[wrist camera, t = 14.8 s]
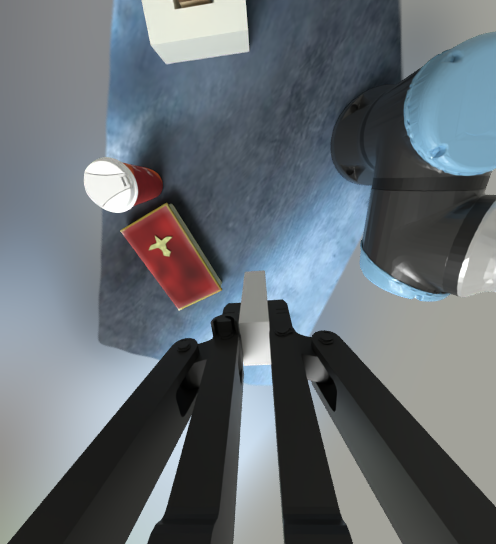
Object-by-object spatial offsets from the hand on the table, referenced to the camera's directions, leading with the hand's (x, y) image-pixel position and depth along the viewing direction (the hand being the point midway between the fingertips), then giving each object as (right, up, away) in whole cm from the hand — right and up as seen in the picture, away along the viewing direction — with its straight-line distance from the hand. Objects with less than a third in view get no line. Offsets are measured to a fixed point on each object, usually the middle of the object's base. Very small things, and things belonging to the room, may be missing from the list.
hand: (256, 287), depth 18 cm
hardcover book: (-16, +5, +35) cm, 39 cm away
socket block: (-8, +42, +18) cm, 47 cm away
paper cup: (-20, +19, +28) cm, 40 cm away
